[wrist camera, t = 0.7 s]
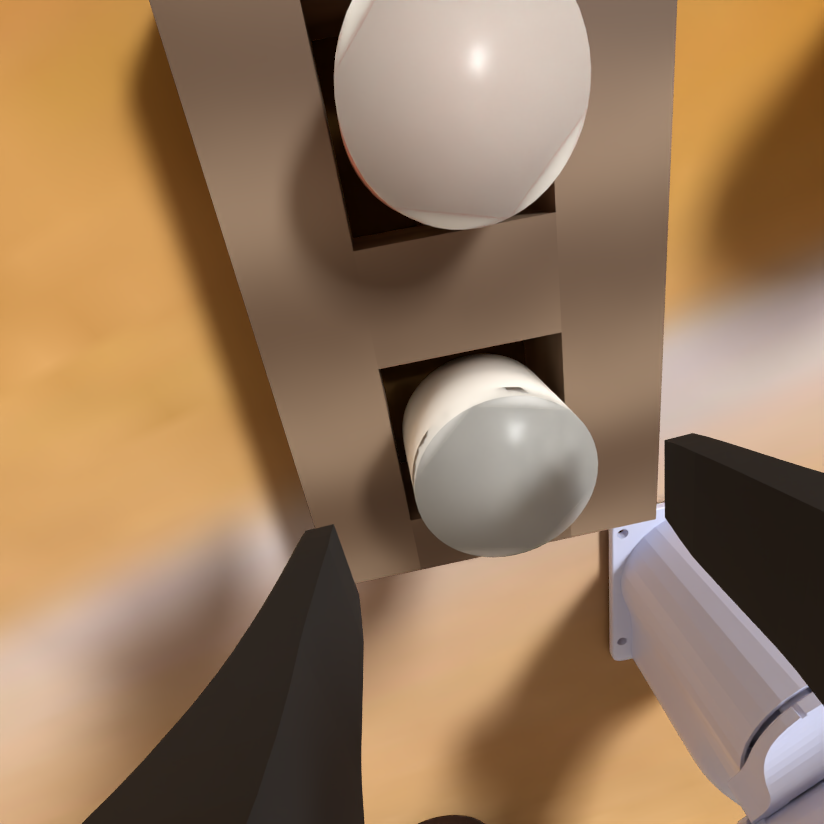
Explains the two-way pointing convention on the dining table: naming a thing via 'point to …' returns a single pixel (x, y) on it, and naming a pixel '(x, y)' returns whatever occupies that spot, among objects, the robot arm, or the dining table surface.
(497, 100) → the plunger
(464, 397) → the white domed canister
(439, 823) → the coffee mug
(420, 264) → the housing
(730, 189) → the dining table surface
